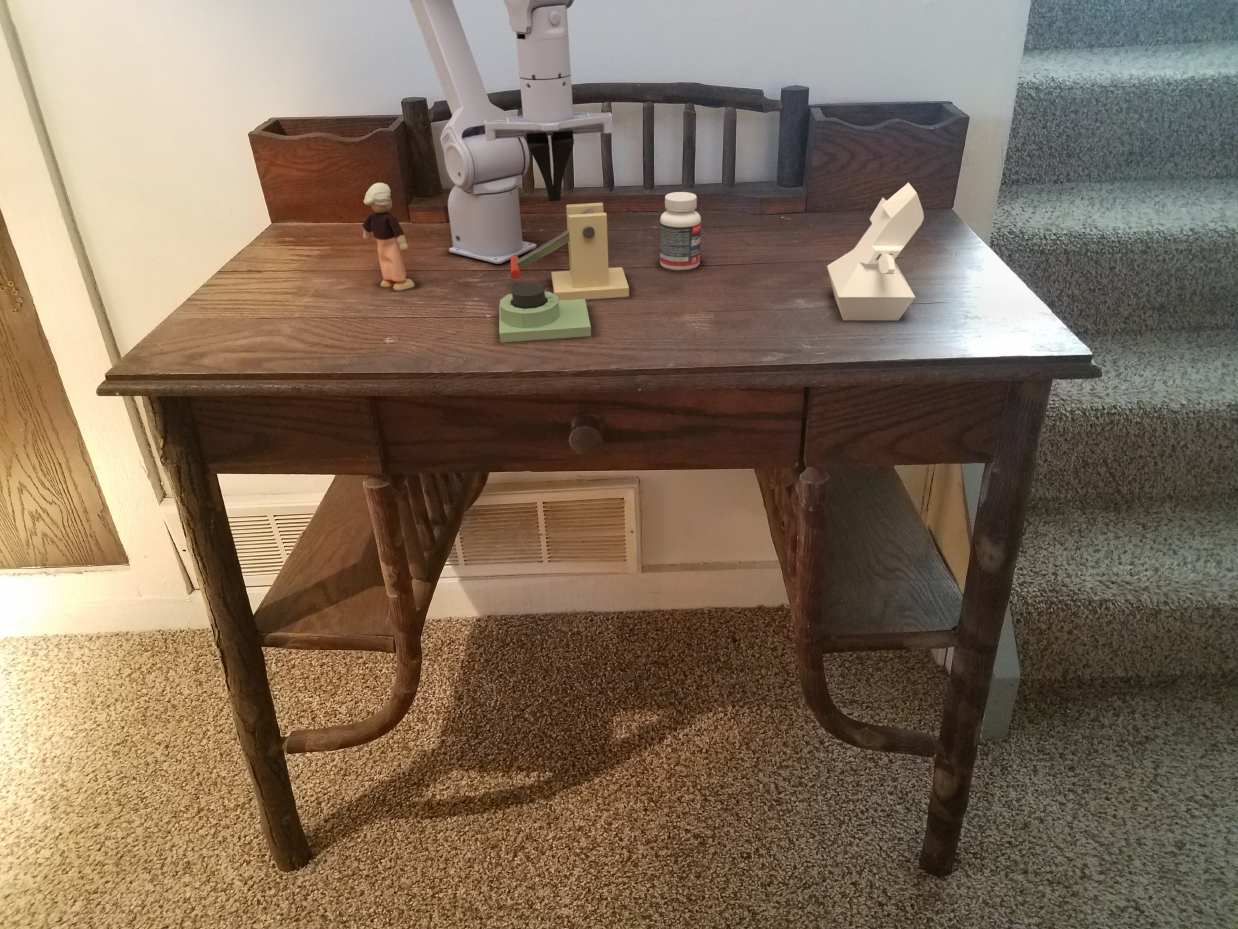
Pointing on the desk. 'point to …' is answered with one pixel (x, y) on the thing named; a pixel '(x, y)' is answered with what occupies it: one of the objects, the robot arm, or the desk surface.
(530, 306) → the button
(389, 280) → the grandmother figurine
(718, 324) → the desk surface
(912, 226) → the beige angled stand
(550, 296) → the button box
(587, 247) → the bracket
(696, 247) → the pill bottle
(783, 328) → the desk surface
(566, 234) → the lever
